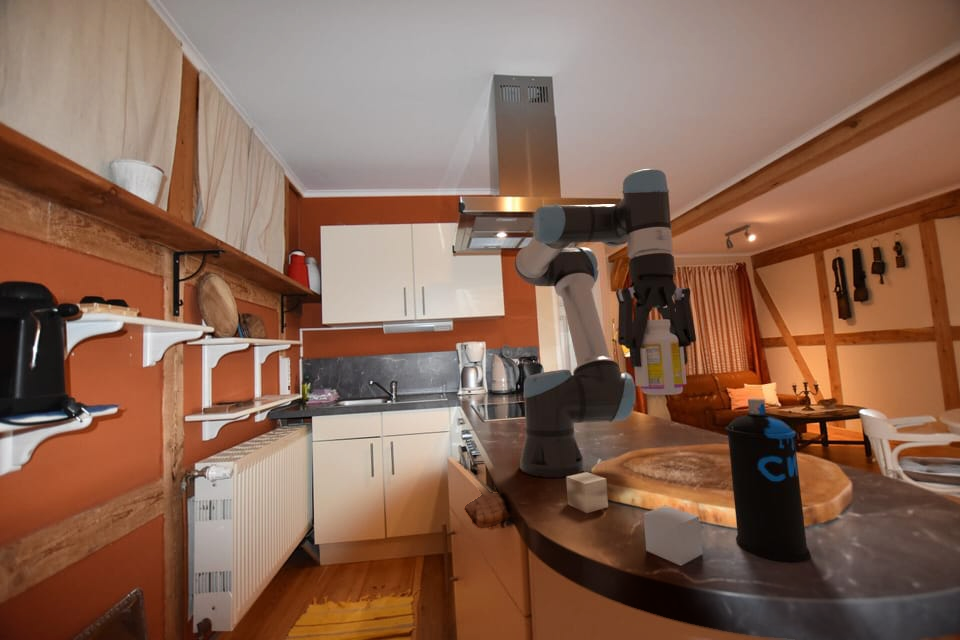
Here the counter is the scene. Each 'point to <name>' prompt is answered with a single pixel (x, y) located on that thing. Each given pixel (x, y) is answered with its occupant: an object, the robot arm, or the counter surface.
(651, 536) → the grey block
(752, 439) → the aerosol can
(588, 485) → the birch block
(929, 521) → the counter surface
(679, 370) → the supplement bottle
